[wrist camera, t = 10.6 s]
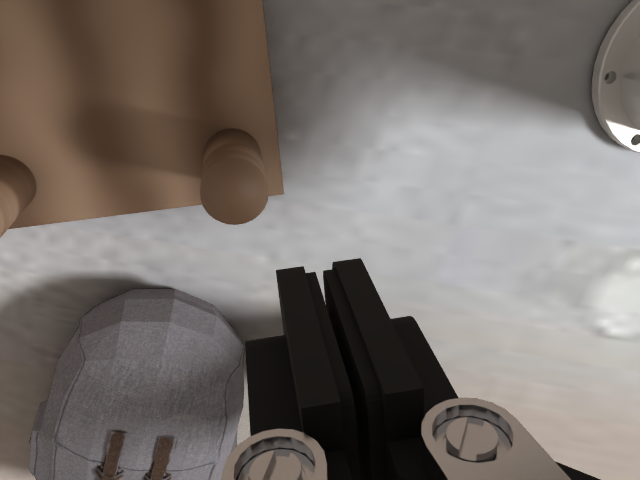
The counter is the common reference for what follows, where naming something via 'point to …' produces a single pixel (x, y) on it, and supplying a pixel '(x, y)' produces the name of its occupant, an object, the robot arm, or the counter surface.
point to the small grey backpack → (143, 393)
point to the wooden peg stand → (134, 109)
